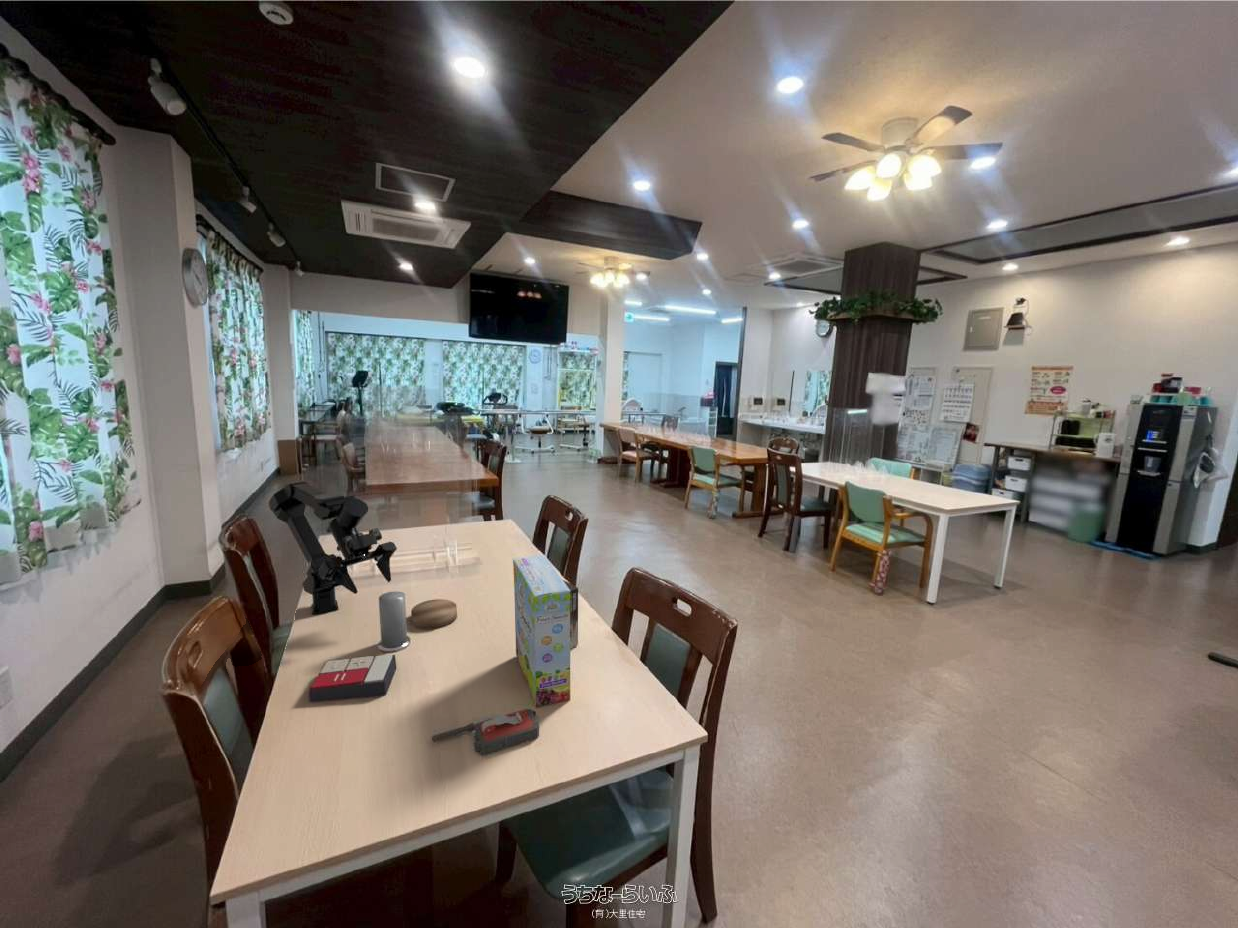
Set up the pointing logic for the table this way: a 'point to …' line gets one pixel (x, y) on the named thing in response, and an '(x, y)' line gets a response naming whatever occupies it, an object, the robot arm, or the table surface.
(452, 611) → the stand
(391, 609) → the grey cylinder
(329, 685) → the calculator
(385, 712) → the table surface
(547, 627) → the snack box
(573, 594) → the coffee box
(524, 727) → the walkie-talkie
